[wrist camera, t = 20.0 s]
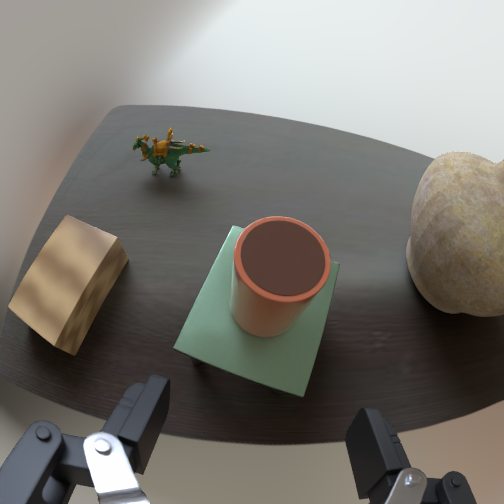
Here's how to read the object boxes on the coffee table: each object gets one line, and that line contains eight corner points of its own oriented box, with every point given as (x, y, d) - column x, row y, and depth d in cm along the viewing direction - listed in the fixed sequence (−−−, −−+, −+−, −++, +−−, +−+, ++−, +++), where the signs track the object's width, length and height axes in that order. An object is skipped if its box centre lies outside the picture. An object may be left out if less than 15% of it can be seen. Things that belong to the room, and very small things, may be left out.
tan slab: (75, 356, 26) (54, 346, 22) (29, 321, 27) (7, 306, 23) (128, 259, 33) (117, 237, 29) (80, 236, 34) (66, 214, 30)
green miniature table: (283, 400, 27) (303, 397, 20) (184, 363, 28) (172, 348, 21) (316, 295, 34) (340, 263, 27) (230, 264, 35) (233, 224, 28)
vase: (446, 375, 29) (635, 267, 3) (348, 255, 37) (469, 47, 12) (493, 285, 37) (601, 183, 12) (419, 197, 45) (499, 66, 20)
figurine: (140, 162, 43) (132, 122, 36) (212, 167, 43) (212, 124, 36) (134, 175, 41) (124, 134, 34) (208, 181, 41) (208, 137, 34)
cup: (237, 343, 22) (245, 310, 15) (223, 277, 25) (225, 220, 18) (307, 329, 23) (344, 291, 16) (289, 267, 26) (313, 211, 19)
